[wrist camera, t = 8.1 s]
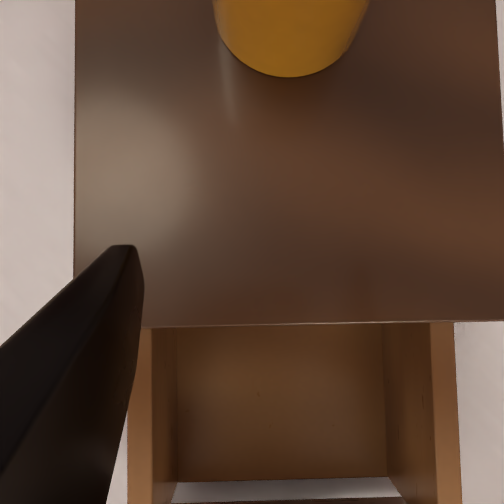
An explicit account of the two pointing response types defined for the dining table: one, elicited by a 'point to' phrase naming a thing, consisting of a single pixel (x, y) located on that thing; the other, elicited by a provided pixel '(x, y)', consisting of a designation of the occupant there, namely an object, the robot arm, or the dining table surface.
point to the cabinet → (294, 168)
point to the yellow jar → (288, 32)
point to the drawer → (296, 409)
